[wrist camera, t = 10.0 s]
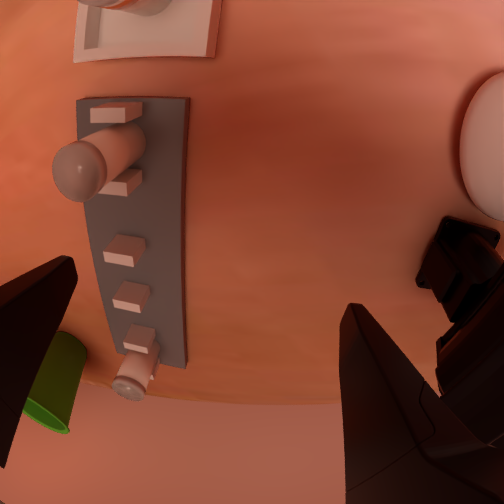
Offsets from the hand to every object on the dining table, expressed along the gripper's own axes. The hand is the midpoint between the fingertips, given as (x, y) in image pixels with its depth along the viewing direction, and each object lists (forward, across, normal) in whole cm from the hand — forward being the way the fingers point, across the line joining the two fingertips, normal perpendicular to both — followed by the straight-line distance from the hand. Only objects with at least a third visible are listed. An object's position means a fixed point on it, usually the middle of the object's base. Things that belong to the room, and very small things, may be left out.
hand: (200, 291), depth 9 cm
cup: (+13, +20, +25) cm, 34 cm away
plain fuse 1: (+12, +8, -1) cm, 14 cm away
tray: (+12, +7, -11) cm, 18 cm away
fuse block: (+12, +8, +9) cm, 17 cm away
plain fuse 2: (+12, +8, +19) cm, 24 cm away
